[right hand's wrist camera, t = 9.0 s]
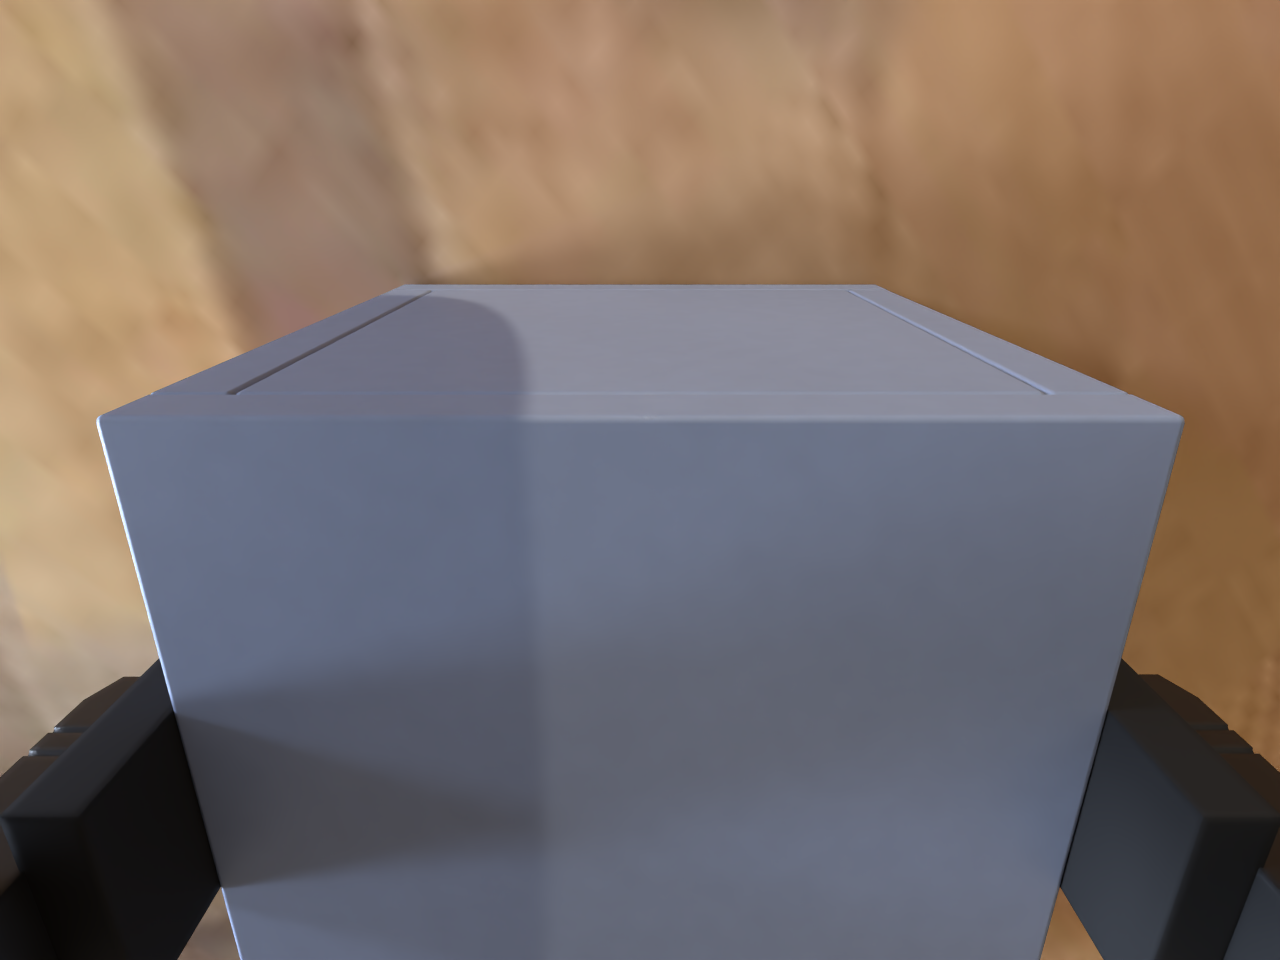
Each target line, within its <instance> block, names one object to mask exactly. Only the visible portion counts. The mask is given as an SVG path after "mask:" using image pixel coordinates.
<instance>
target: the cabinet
mask: <svg viewBox="0 0 1280 960" xmlns="http://www.w3.org/2000/svg"><path fill="white" fill-rule="evenodd" d="M1184 424H1185V423H1184V418H1183V417H1182V416H1181V415H1178V414H1176V413H1174V412H1171V411H1169V410H1167V409H1164V408H1162V407H1160V406H1157V405H1155V404H1153V403H1150V402H1148V401H1146V400H1143V399H1141V398H1139V397H1136V396H1134V395H1128V393H1127V392H1124V391H1122V390H1120V389H1117V388H1115V387H1113V386H1110V385H1108V384H1106V383H1103V382H1101V381H1099V380H1096V379H1094V378H1092V377H1089V376H1087V375H1085V374H1082V373H1080V372H1078V371H1075V370H1073V369H1070V368H1068V367H1066V366H1063V365H1061V364H1059V363H1056V362H1054V361H1052V360H1049V359H1047V358H1045V357H1042V356H1040V355H1038V354H1035V353H1033V352H1031V351H1028V350H1026V349H1024V348H1021V347H1019V346H1017V345H1014V344H1012V343H1010V342H1007V341H1005V340H1003V339H1000V338H998V337H996V336H993V335H991V334H988V333H986V332H984V331H981V330H979V329H977V328H974V327H972V326H970V325H967V324H965V323H963V322H960V321H958V320H956V319H953V318H951V317H949V316H946V315H944V314H942V313H939V312H937V311H935V310H932V309H930V308H928V307H925V306H923V305H921V304H918V303H916V302H914V301H911V300H909V299H907V298H904V297H902V296H899V295H897V294H895V293H892V292H890V291H888V290H886V289H884V288H882V287H879V286H877V285H403V286H400V287H398V288H396V289H393V290H391V291H389V292H387V293H384V294H382V295H380V296H377V297H375V298H372V299H370V300H368V301H365V302H363V303H361V304H358V305H356V306H354V307H351V308H349V309H347V310H344V311H342V312H340V313H337V314H335V315H333V316H330V317H328V318H326V319H323V320H321V321H319V322H316V323H314V324H312V325H309V326H307V327H305V328H302V329H300V330H298V331H295V332H293V333H291V334H288V335H286V336H284V337H281V338H279V339H277V340H274V341H272V342H270V343H267V344H265V345H263V346H260V347H258V348H256V349H253V350H251V351H249V352H246V353H244V354H242V355H239V356H237V357H235V358H232V359H230V360H228V361H225V362H223V363H221V364H218V365H216V366H214V367H211V368H209V369H207V370H204V371H202V372H199V373H197V374H195V375H192V376H190V377H188V378H185V379H183V380H181V381H178V382H176V383H174V384H171V385H169V386H167V387H164V388H162V389H160V390H157V391H155V392H153V393H152V394H151V395H147V396H145V397H143V398H140V399H138V400H136V401H133V402H131V403H129V404H126V405H124V406H122V407H119V408H117V409H115V410H112V411H110V412H108V413H105V414H103V415H101V416H99V417H98V418H97V427H98V431H99V435H100V438H101V442H102V446H103V450H104V453H105V457H106V461H107V464H108V468H109V472H110V476H111V479H112V483H113V487H114V490H115V494H116V498H117V502H118V505H119V509H120V513H121V517H122V520H123V524H124V528H125V531H126V535H127V539H128V543H129V546H130V550H131V554H132V557H133V561H134V565H135V569H136V572H137V576H138V580H139V584H140V587H141V591H142V595H143V598H144V602H145V606H146V610H147V613H148V617H149V621H150V624H151V628H152V632H153V636H154V639H155V643H156V647H157V651H158V654H159V658H160V662H161V665H162V669H163V673H164V677H165V680H166V684H167V688H168V691H169V695H170V699H171V703H172V706H173V710H174V714H175V718H176V721H177V725H178V729H179V732H180V736H181V740H182V744H183V747H184V751H185V755H186V758H187V762H188V766H189V770H190V773H191V777H192V781H193V785H194V788H195V792H196V796H197V799H198V803H199V807H200V811H201V814H202V818H203V822H204V825H205V829H206V833H207V837H208V840H209V844H210V848H211V852H212V855H213V859H214V863H215V866H216V870H217V874H218V878H219V881H220V885H221V889H222V892H223V896H224V900H225V904H226V907H227V911H228V915H229V919H230V922H231V926H232V930H233V933H234V937H235V941H236V945H237V948H238V952H239V956H240V959H241V960H1040V958H1041V954H1042V950H1043V947H1044V943H1045V939H1046V936H1047V932H1048V928H1049V924H1050V921H1051V917H1052V913H1053V910H1054V906H1055V902H1056V898H1057V895H1058V891H1059V887H1060V884H1061V880H1062V876H1063V872H1064V869H1065V865H1066V861H1067V858H1068V854H1069V850H1070V847H1071V843H1072V839H1073V835H1074V832H1075V828H1076V824H1077V821H1078V817H1079V813H1080V809H1081V806H1082V802H1083V798H1084V795H1085V791H1086V787H1087V783H1088V780H1089V776H1090V772H1091V769H1092V765H1093V761H1094V757H1095V754H1096V750H1097V746H1098V743H1099V739H1100V735H1101V731H1102V728H1103V724H1104V720H1105V717H1106V713H1107V709H1108V706H1109V702H1110V698H1111V694H1112V691H1113V687H1114V683H1115V680H1116V676H1117V672H1118V668H1119V665H1120V661H1121V657H1122V654H1123V650H1124V646H1125V642H1126V639H1127V635H1128V631H1129V628H1130V624H1131V620H1132V616H1133V613H1134V609H1135V605H1136V602H1137V598H1138V594H1139V590H1140V587H1141V583H1142V579H1143V576H1144V572H1145V568H1146V565H1147V561H1148V557H1149V553H1150V550H1151V546H1152V542H1153V539H1154V535H1155V531H1156V527H1157V524H1158V520H1159V516H1160V513H1161V509H1162V505H1163V501H1164V498H1165V494H1166V490H1167V487H1168V483H1169V479H1170V475H1171V472H1172V468H1173V464H1174V461H1175V457H1176V453H1177V449H1178V446H1179V442H1180V438H1181V435H1182V431H1183V427H1184Z"/></svg>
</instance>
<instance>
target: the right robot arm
mask: <svg viewBox="0 0 1280 960" xmlns="http://www.w3.org/2000/svg"><path fill="white" fill-rule="evenodd" d="M29 752H30V753H29V755H28V756H23V757H22V758H21V759H19V760H18V761H17V762H16V763H15V764H14V765H13V766H12V767H11V768H10V769H9V770H8V771H7V772H5V773H4V774H3V775H2V776H1V777H0V960H177V959H178V957H179V956H180V954H181V952H182V951H183V949H184V947H185V946H186V944H187V942H188V941H189V939H190V937H191V936H192V934H193V932H194V930H195V929H196V927H197V925H198V924H199V922H200V920H201V919H202V917H203V915H204V914H205V912H206V910H207V909H208V907H209V905H210V904H211V902H212V900H213V899H214V897H215V895H216V894H217V892H218V890H219V889H220V887H221V885H220V881H219V878H218V874H217V870H216V866H215V863H214V859H213V855H212V852H211V848H210V844H209V840H208V837H207V833H206V829H205V825H204V822H203V818H202V814H201V811H200V807H199V803H198V799H197V796H196V792H195V788H194V785H193V781H192V777H191V773H190V770H189V766H188V762H187V758H186V755H185V751H184V747H183V744H182V740H181V736H180V732H179V729H178V725H177V721H176V718H175V714H174V710H173V706H172V703H171V699H170V695H169V691H168V688H167V684H166V680H165V677H164V673H163V669H162V665H161V662H160V658H159V659H158V660H157V661H156V662H155V663H154V664H153V665H152V666H151V667H150V668H149V669H148V670H147V671H146V672H145V673H144V674H143V675H142V676H141V677H123V678H121V679H119V680H117V681H116V682H114V683H112V684H111V685H109V686H107V687H105V688H104V689H102V690H100V691H99V692H97V693H95V694H93V695H92V696H90V697H88V698H86V699H85V700H83V701H82V702H81V703H80V704H79V705H78V706H77V707H76V708H75V709H74V710H72V711H71V712H70V713H69V714H68V715H67V716H66V717H65V718H64V719H63V720H62V721H61V722H59V723H58V724H57V725H56V726H55V727H54V732H53V733H48V734H47V735H45V736H44V737H43V738H42V739H41V740H40V741H39V742H38V743H37V744H36V745H35V746H34V747H32V748H31V749H30V750H29ZM1060 887H1061V889H1062V891H1063V892H1064V894H1065V896H1066V897H1067V899H1068V901H1069V902H1070V904H1071V906H1072V907H1073V909H1074V911H1075V912H1076V914H1077V916H1078V917H1079V919H1080V921H1081V923H1082V924H1083V926H1084V928H1085V929H1086V931H1087V933H1088V934H1089V936H1090V938H1091V939H1092V941H1093V943H1094V944H1095V946H1096V948H1097V949H1098V951H1099V953H1100V954H1101V956H1102V958H1103V959H1104V960H1280V772H1278V771H1277V770H1276V769H1275V768H1274V767H1273V766H1272V765H1271V764H1270V763H1269V762H1268V761H1266V760H1265V759H1264V758H1263V757H1262V756H1261V755H1260V754H1254V753H1253V748H1252V747H1251V746H1250V745H1249V744H1248V743H1247V742H1246V741H1245V740H1244V739H1243V738H1241V737H1240V736H1239V735H1238V734H1237V733H1236V732H1235V731H1234V730H1228V725H1227V724H1226V723H1225V722H1224V721H1223V720H1222V719H1221V718H1220V717H1219V716H1217V715H1216V714H1215V713H1214V712H1213V711H1212V710H1211V709H1210V708H1209V707H1208V706H1207V705H1206V704H1204V703H1203V702H1202V701H1201V700H1200V699H1199V698H1198V697H1196V696H1194V695H1193V694H1191V693H1189V692H1187V691H1186V690H1184V689H1182V688H1180V687H1179V686H1177V685H1175V684H1174V683H1172V682H1170V681H1168V680H1167V679H1165V678H1163V677H1161V676H1160V675H1138V674H1137V673H1136V672H1135V671H1134V670H1133V669H1132V668H1131V667H1130V666H1129V665H1128V664H1127V663H1126V662H1125V661H1124V660H1123V659H1122V658H1121V661H1120V665H1119V668H1118V672H1117V676H1116V680H1115V683H1114V687H1113V691H1112V694H1111V698H1110V702H1109V706H1108V709H1107V713H1106V717H1105V720H1104V724H1103V728H1102V731H1101V735H1100V739H1099V743H1098V746H1097V750H1096V754H1095V757H1094V761H1093V765H1092V769H1091V772H1090V776H1089V780H1088V783H1087V787H1086V791H1085V795H1084V798H1083V802H1082V806H1081V809H1080V813H1079V817H1078V821H1077V824H1076V828H1075V832H1074V835H1073V839H1072V843H1071V847H1070V850H1069V854H1068V858H1067V861H1066V865H1065V869H1064V872H1063V876H1062V880H1061V884H1060Z"/></svg>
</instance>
